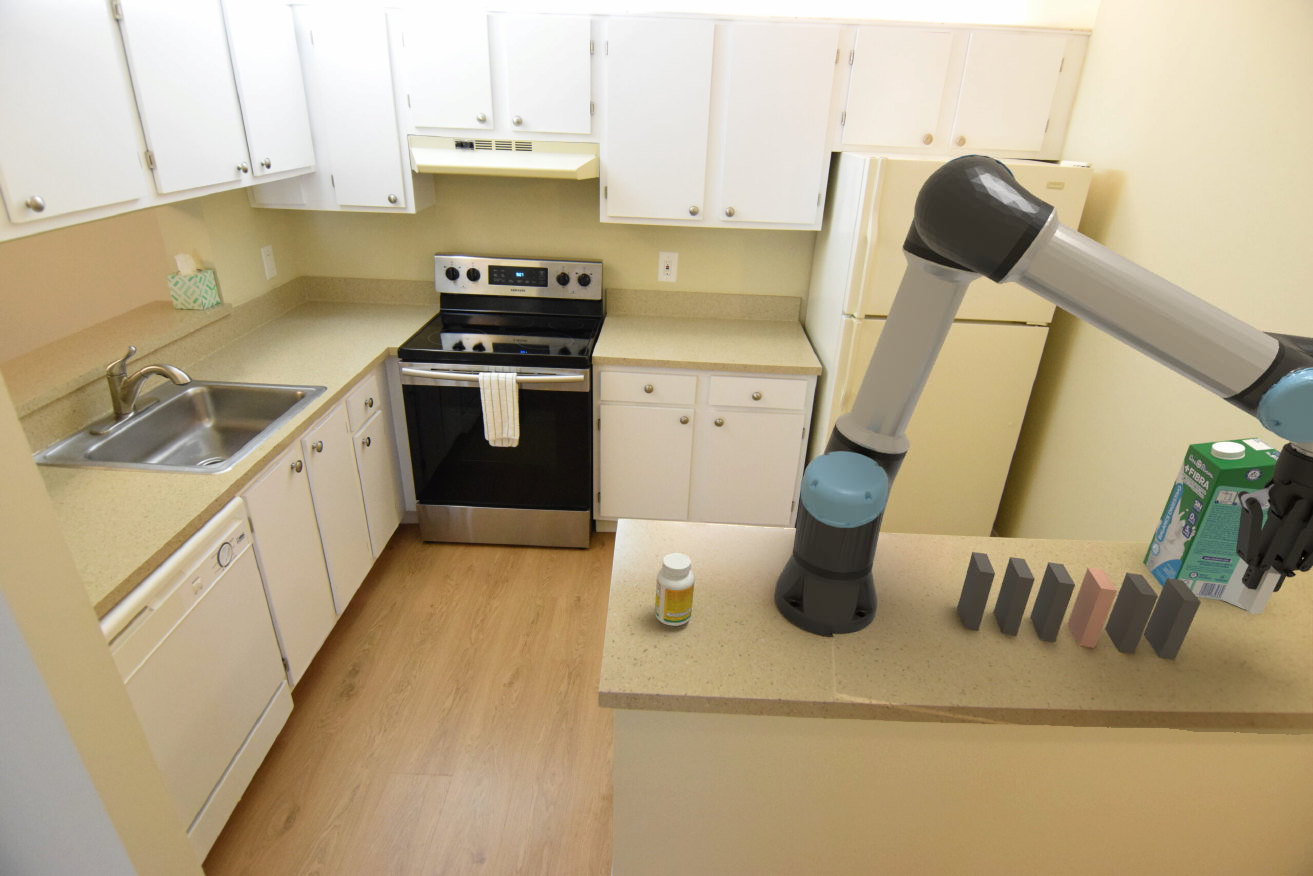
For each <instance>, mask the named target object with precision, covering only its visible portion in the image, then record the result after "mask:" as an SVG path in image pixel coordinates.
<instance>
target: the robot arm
mask: <svg viewBox="0 0 1313 876" xmlns="http://www.w3.org/2000/svg"><path fill="white" fill-rule="evenodd" d="M913 211H914V212H913V214H914V215H913V218H912V221H911V224H910V227H909V229H908V232H907V235H906V237H905V240H904V242H903V245H902V247H901V251H902V253H903V255H904V257H905V259H906V262H907V266H906V268H905V270H904V273H903V275H902V279H901V281H900V284H899V286H898V287H897V288H898V289H897V291H896V294H895V296H894V299H893V302H892V304H891V306H890V308H889V312H888V314H887V317H886V319H885V322H884V324H883V327H882V329H881V331H880V332H881V333H880V335H879V337H878V339H877V342H876V346H875V347H874V350H873V352H872V355H871V357H870V360H869V363H868V366H867V368H866V371H865V373H864V376H863V379H862V381H861V384H860V386H859V389H858V391H857V394H856V397H855V399H854V402H853V404H852V407H851V409H850V412H847V413H844V414H842V415H839V416H838V417H837V419H836V420H835V422H834V423H835V424H834V426H833V428H832V431H831V434H830V436H829V439H828V442H827V444H826V447H825V449H824V452H823V454H820V455H818V456H816V457H815V458H813V459H812V460H810V462H809V463H808V465H807V466H806V468H805V469H804V473H803V477H802V479H801V481H800V499H799V504H798V512H797V520H796V526H795V533H794V540H793V548H792V554H791V555H790V556H789V559H788V560H787V562H786V564H785V566H784V567H783V569H782V571H781V573H780V575H779V576H778V578H777V581H776V584H775V592H774V602H775V606H776V607H777V609H778V611H779V612H780V613H781V615H782V616H783V617H784V618H785V619H786V620H788V622H790V623H791V624H794V625H795V626H796V627H799V628H800V629H801V630H805V631H807V632H809V633H812V634H816V635H819V636H820V635H821V636H825V637H826V636H827V637H834V635H847V634H853V633H856V632H859V631H862V630H864V629H866V628H868V627H869V626H870V625H871V624H872V622H874V619H875V617H876V614H877V610H878V598H877V592H876V587H875V579H874V575H873V565H874V560H875V555H876V551H877V546H878V543H879V542H878V541H879V537H880V532H881V527H882V523H883V519H884V515H885V512H886V508H887V504H888V501H889V497H890V495H891V490H892V488H893V485H894V483H895V481H896V478H897V476H898V474H899V472H900V469H901V467H902V465H903V463H904V460H905V458H906V456H907V453H908V451H909V450H910V449H909V448H910V446H911V445H910V443H911V442H910V440H909V438H908V436H907V434H906V433H905V432H906V429H907V428H908V425H909V423H910V421H911V419H912V416H913V415H914V412H915V409H916V407H917V404H918V402H919V400H920V398H921V395H922V394H923V391H924V390H925V389H924V388H925V387H926V384H927V383H928V379H929V378H930V375H931V373H932V371H933V368H934V366H935V364H936V361H937V359H938V357H939V354H940V352H941V350H942V348H943V346H944V344H945V341H946V340H947V336H948V334H949V331H950V330H951V328H952V325H953V323H954V321H955V318H956V316H957V314H958V312H959V309H960V307H961V304H962V303H963V300H964V297H965V296H966V293H967V290H968V288H969V286H970V284H971V283H972V282H973V281H976V280H978V279H981V278H982V277H984V278H987V279H989V280H991V281H993V282H994V283H996V284H998V285H1003V284H1007V283H1015V284H1017V285H1019V286H1021V287H1023V288H1024V289H1026V290H1028V291H1029V292H1032V293H1033V294H1035V295H1037V296H1039V297H1041V298H1042V299H1044V300H1046V301H1047V302H1049V303H1052V304H1054V305H1055V306H1057V307H1059V308H1060V309H1062V310H1064V311H1065V312H1067V313H1069V314H1071V315H1073V316H1075V317H1076V318H1078V319H1080V320H1081V321H1084V322H1085V323H1087V324H1088V325H1091V326H1092V327H1094V328H1096V329H1098V330H1099V331H1101V332H1103V333H1105V334H1106V335H1109V336H1110V337H1111V338H1114V339H1115V340H1118V341H1119V342H1121V343H1122V344H1125V345H1127V346H1128V347H1130V348H1132V349H1134V350H1136V351H1137V352H1139V353H1140V354H1143V355H1144V356H1146V357H1147V358H1150V359H1151V360H1154V361H1155V362H1156V363H1159V364H1160V365H1162V366H1164V367H1166V368H1167V369H1169V370H1171V371H1173V372H1175V373H1177V374H1179V375H1180V376H1182V377H1184V378H1185V379H1188V380H1189V381H1191V382H1192V383H1194V384H1197V385H1198V386H1199V387H1201V388H1203V389H1205V390H1207V391H1208V392H1211V393H1212V394H1214V395H1216V396H1218V397H1220V398H1221V399H1222V400H1224V401H1226V402H1227V403H1228V404H1230V405H1232V406H1234V407H1235V408H1237V409H1240V410H1241V411H1243V412H1244V413H1247V414H1249V415H1250V416H1251V417H1253V418H1255V419H1257V420H1258V421H1259V423H1260V424H1261V426H1263V428H1264V429H1266V430H1267V431H1269V432H1271V433H1273V434H1274V435H1276V436H1277V437H1279V438H1281V439H1283V440H1286V441H1288V443H1285V444H1284V445H1283V446H1282V449H1281V451H1280V455H1279V457H1278V459H1277V461H1276V464H1275V466H1274V475H1273V477H1272V478H1271V479H1270V480H1269V481H1268V482H1267V483H1266V484H1265V485H1264V487H1263V489H1262V490H1259V491H1256V492H1253V493H1248V492H1247V491H1241V492H1240V493H1239V494H1238V498H1239V501H1240V504H1241V506H1242V509H1241V516H1240V524H1239V532H1238V540H1237V547H1236V554H1237V555H1238V556H1239V557H1240V558H1241V559H1242V560H1243V561H1244V562H1245V563H1246V564H1248V567H1247V569H1246V572H1245V574H1244V576H1243V578H1242V583H1243V584H1244V585H1245V586H1244V588H1243V591H1242V593H1241V595H1240V597H1239V599H1238V602H1239V603H1240V604H1241V605H1242V606H1243V607H1244V608H1245V609H1246V610H1245V609H1244V610H1245V611H1246V612H1247V613H1248V614H1254V615H1262V614H1263V613H1264V610H1265V608H1266V606H1267V604H1268V602H1269V600H1270V597H1272V594H1273V593H1277V592H1279V590H1280V589H1281V587H1283V586H1282V585H1283V584H1284V582H1285V579H1286V578H1293V577H1295V576H1296V575H1297V573H1295V571H1300V572H1301V573H1305V572H1309V571H1310V570H1311V569H1312V568H1313V337H1310V336H1302V335H1293V334H1285V333H1278V332H1271V331H1264V330H1262V331H1261V330H1260V329H1258V328H1256V327H1254V326H1253V325H1250V324H1249V323H1247V322H1244V321H1243V320H1241V319H1240V318H1237V317H1236V316H1235V315H1232V314H1230V313H1229V312H1226V311H1225V310H1223V309H1221V308H1219V307H1217V306H1215V305H1214V304H1212V303H1210V302H1208V301H1207V300H1205V299H1202V298H1201V297H1199V296H1197V295H1195V294H1193V293H1192V292H1190V291H1188V290H1186V289H1184V288H1182V287H1181V286H1178V285H1177V284H1175V283H1173V282H1171V281H1170V280H1168V279H1166V278H1165V277H1162V276H1161V275H1158V274H1157V273H1155V272H1153V271H1151V270H1149V269H1148V268H1145V267H1144V266H1142V265H1140V264H1138V263H1137V262H1135V261H1133V260H1131V259H1129V258H1127V257H1125V256H1124V255H1121V254H1120V253H1118V252H1116V251H1115V250H1112V249H1111V248H1109V247H1106V245H1103V244H1102V243H1100V242H1099V241H1096V240H1094V239H1093V238H1091V237H1088V236H1087V235H1085V234H1083V233H1081V232H1080V231H1078V230H1075V229H1074V228H1072V227H1070V226H1069V225H1066V223H1063V222H1061V221H1060V219H1059V215H1058V209H1057V208H1056V206H1054V205H1052V204H1049V203H1047V202H1046V201H1045V200H1042V199H1040V198H1039V197H1038V196H1036V195H1034V194H1033V193H1031V192H1030V191H1029V190H1028V189H1026V188H1025V187H1024V186H1023V185H1021V184H1020V183H1019V182H1018V180H1017V179H1016V178H1015V175H1014V174H1013V172H1012V171H1011V169H1010V168H1009V167H1008V166H1007V165H1006V164H1005V163H1003V162H1002V161H1001V160H999V159H995V158H993V157H991V156H989V155H981V154H977V153H976V154H975V153H974V154H966V155H961V156H958V157H955V158H953V159H951V160H949V161H948V162H946V163H945V164H943V165H940V167H939V168H937V169H936V170H934V172H933V173H932V174H931V175H930V176H929V177H928V178H927V179H926V180H925V182H924V183H923V185H922V186H921V188H920V190H919V191H918V194H917V196H916V200H915V204H914V210H913ZM1267 500H1268V503H1269V505H1270V507H1269V509H1268V511H1267V516H1268V518H1267V520H1266V522H1265V524H1264V526H1263V528H1262V523H1263V511H1262V510H1264V509H1266V506H1265V505H1266V501H1267ZM1261 530H1262V531H1261Z"/></svg>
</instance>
